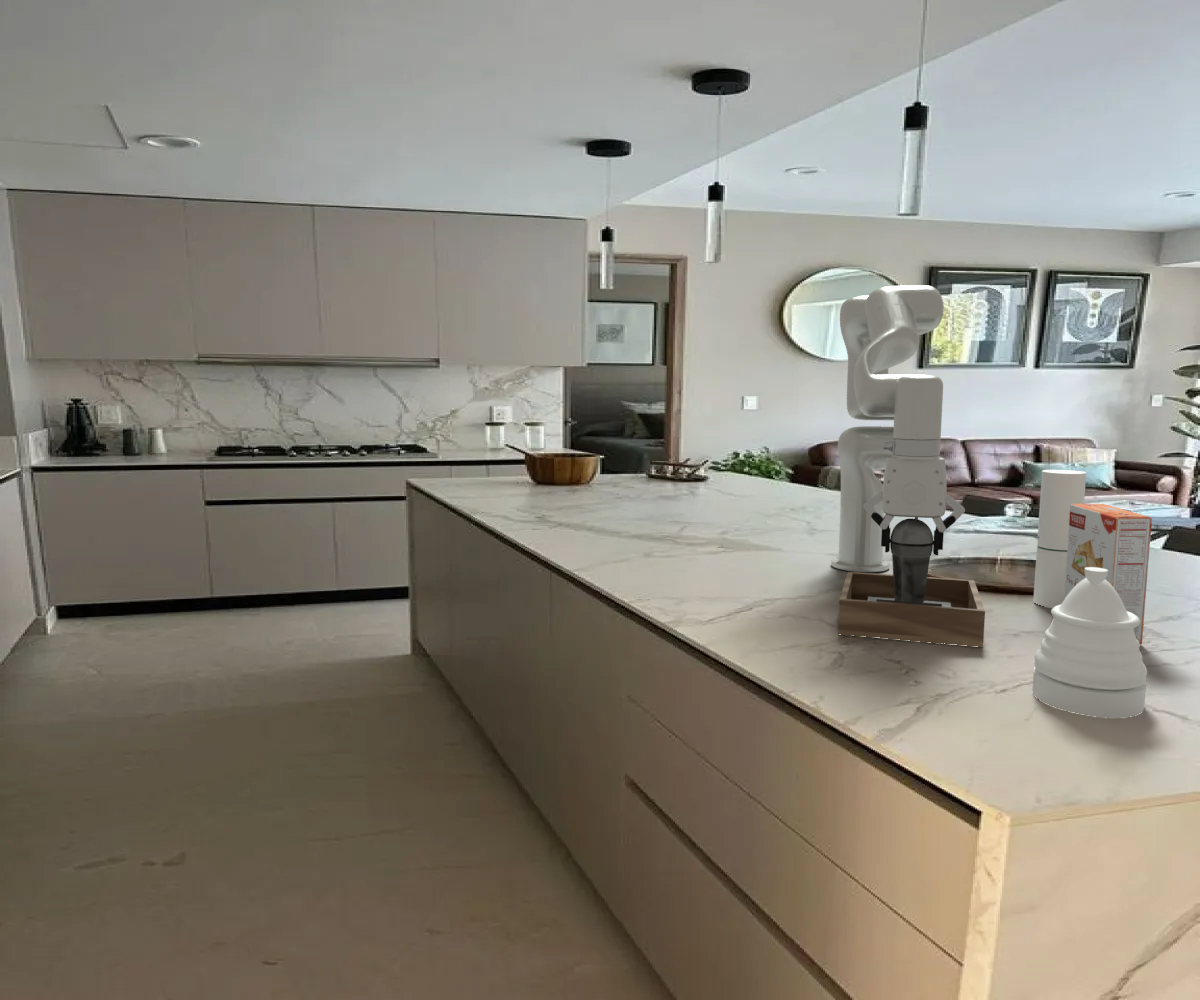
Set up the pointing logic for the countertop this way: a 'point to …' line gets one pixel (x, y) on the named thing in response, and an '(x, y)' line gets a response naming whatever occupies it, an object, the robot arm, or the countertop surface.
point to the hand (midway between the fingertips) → (911, 551)
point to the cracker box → (1111, 552)
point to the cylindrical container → (1055, 533)
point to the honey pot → (1091, 653)
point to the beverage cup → (910, 560)
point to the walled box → (912, 611)
